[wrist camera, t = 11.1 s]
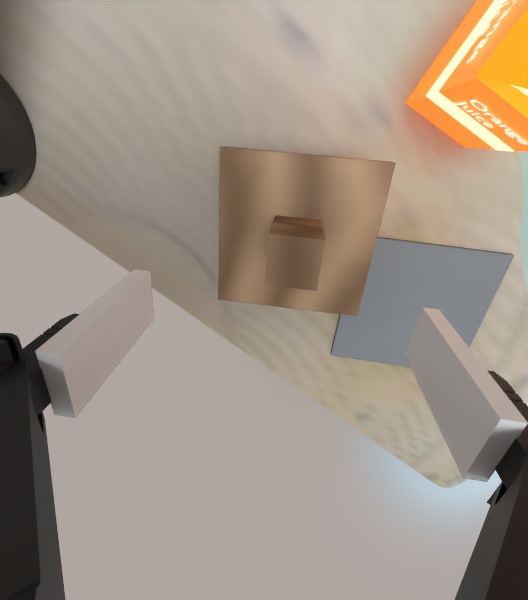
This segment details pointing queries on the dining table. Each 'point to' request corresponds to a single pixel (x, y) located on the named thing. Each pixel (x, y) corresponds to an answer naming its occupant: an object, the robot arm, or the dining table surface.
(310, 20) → the dining table surface
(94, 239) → the dining table surface
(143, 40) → the dining table surface
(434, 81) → the orange juice
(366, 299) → the mat
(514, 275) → the dining table surface
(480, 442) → the robot arm
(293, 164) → the lid
